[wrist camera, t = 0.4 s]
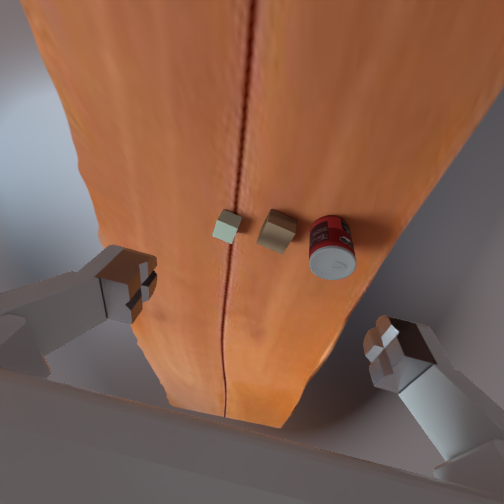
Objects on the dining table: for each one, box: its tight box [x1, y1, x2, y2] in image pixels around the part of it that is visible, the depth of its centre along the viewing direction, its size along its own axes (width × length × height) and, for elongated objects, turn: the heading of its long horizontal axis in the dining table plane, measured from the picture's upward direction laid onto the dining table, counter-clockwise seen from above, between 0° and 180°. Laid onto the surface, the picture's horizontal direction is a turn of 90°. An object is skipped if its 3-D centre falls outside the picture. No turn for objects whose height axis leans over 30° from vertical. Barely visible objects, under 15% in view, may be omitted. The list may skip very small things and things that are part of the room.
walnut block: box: [257, 209, 297, 254], centre depth 51 cm, size 6×6×5 cm
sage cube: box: [212, 209, 243, 244], centre depth 53 cm, size 4×4×4 cm
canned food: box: [309, 216, 356, 280], centre depth 47 cm, size 8×8×11 cm
